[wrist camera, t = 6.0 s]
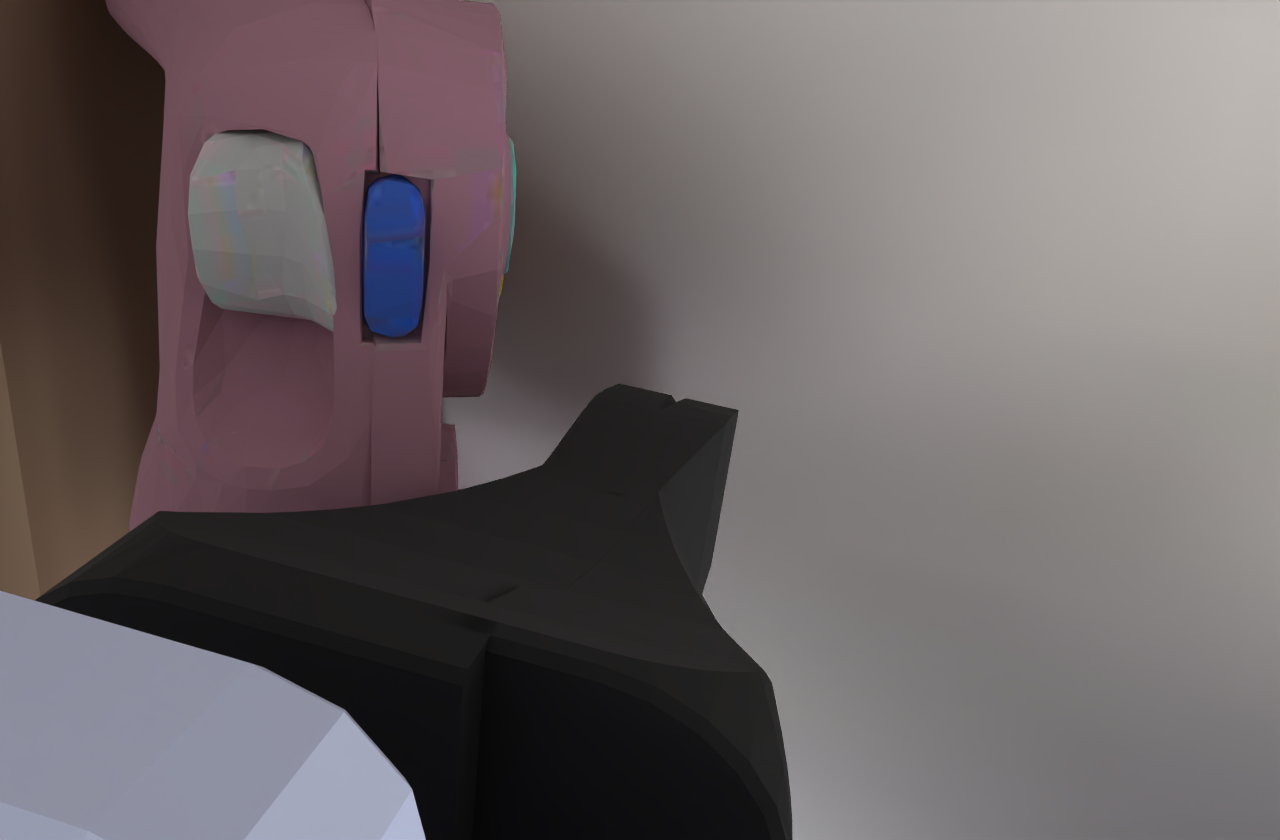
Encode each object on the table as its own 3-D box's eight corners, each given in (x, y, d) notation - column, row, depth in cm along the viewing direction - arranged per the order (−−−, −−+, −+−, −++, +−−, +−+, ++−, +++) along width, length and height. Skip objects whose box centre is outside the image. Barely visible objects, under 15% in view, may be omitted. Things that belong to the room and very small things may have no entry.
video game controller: (489, 608, 17) (535, 1017, 11) (185, 614, 16) (52, 1069, 10) (535, -58, 13) (652, 9, 7) (125, -108, 12) (-176, -82, 6)
